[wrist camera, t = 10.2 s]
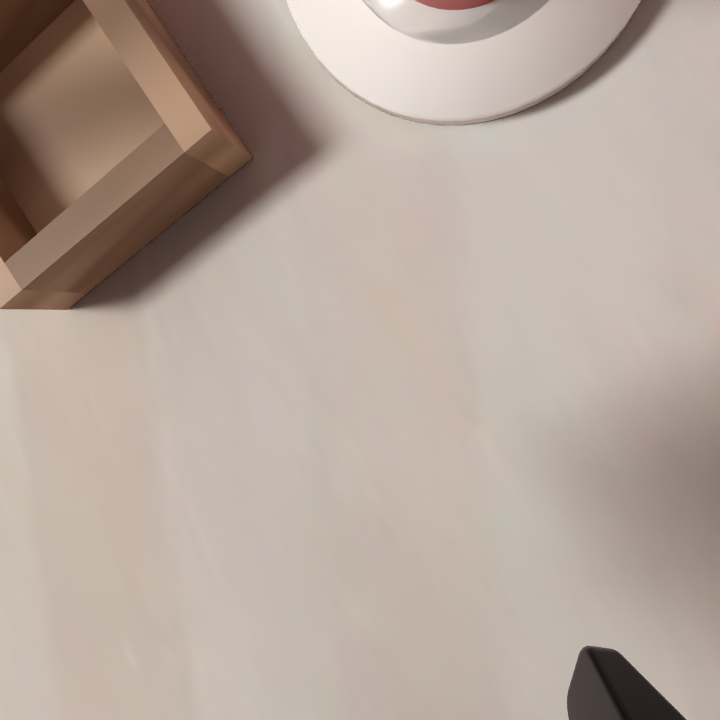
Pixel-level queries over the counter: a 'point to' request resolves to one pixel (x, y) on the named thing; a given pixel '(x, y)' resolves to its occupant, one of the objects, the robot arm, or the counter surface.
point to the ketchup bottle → (454, 4)
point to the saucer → (458, 52)
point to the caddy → (96, 143)
